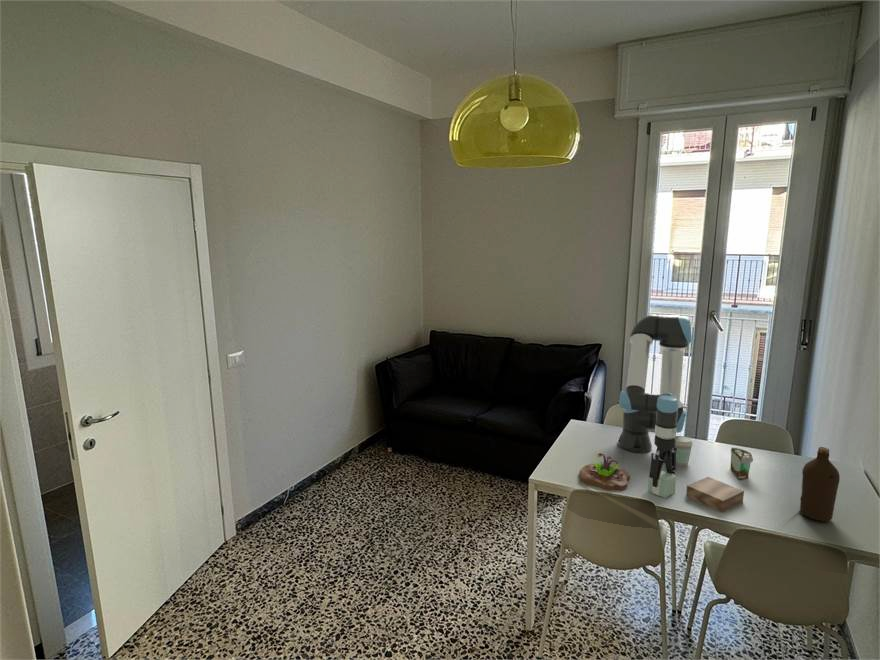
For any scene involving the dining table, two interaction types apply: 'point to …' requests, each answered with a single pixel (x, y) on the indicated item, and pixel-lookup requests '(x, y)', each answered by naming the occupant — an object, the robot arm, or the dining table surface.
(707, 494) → the walnut block
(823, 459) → the brown bottle
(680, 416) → the robot arm
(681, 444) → the coffee cup
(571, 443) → the dining table surface
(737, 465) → the food container
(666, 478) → the sage cube
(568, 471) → the dining table surface
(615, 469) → the plant
